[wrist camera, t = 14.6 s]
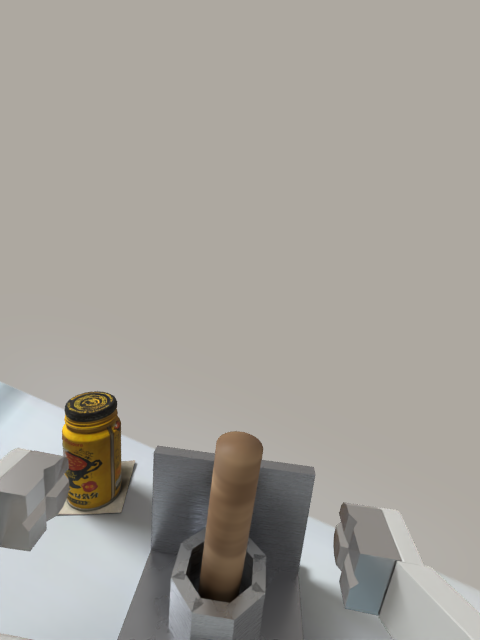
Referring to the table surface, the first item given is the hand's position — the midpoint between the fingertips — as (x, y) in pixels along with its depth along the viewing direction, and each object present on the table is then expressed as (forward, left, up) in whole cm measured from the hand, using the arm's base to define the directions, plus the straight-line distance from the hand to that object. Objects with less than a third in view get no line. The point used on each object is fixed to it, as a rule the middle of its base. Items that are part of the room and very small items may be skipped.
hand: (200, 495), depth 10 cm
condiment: (-29, -2, -24) cm, 38 cm away
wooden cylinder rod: (-10, +6, -22) cm, 25 cm away
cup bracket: (-10, +6, -24) cm, 27 cm away
